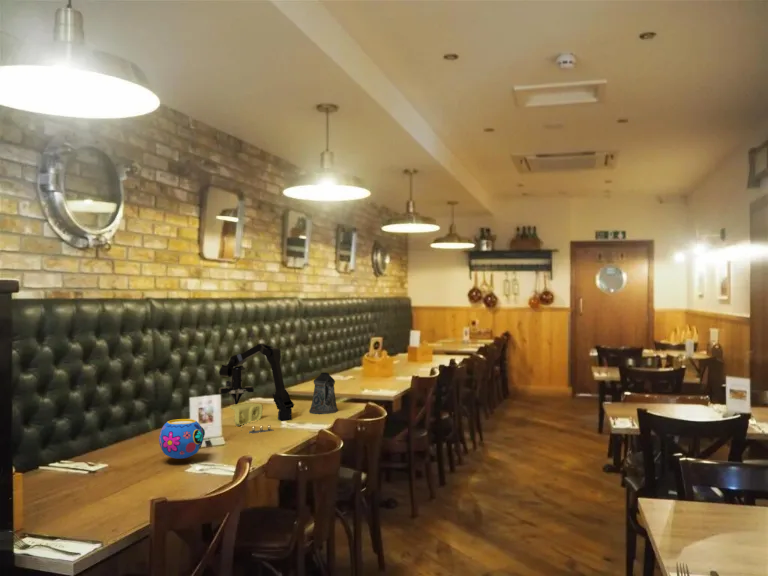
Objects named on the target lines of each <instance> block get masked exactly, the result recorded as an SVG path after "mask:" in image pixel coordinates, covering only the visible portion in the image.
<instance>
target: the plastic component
mask: <svg viewBox="0 0 768 576" xmlns="http://www.w3.org/2000/svg"><path fill="white" fill-rule="evenodd" d="M229 408H230V409H231V410H233V411H234V424H235V426H240V425H242V426H244V425H243V424H246V425H248V424H247V423H249V424H251V423H250V422H251V421H255V420H258V421H259V420H261V419H262V417H263V404H262V403H255V402H253V403H252V402H243V403H242V402H241V403H238V404H235V403H234V404H231V405H229Z"/></svg>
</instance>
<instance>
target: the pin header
mask: <svg viewBox="0 0 768 576" xmlns="http://www.w3.org/2000/svg"><path fill="white" fill-rule="evenodd" d="M248 431H249V433H248V434H250V433H252V434H258V433H259V432H260V433H265V432H273V431H274V429H271V424H268V425H267V429H264V426H263V425H259V430H256V426H255V425H252V426H251V430H248Z"/></svg>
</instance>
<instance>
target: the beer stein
mask: <svg viewBox="0 0 768 576" xmlns="http://www.w3.org/2000/svg"><path fill="white" fill-rule="evenodd" d="M335 383H336V381H335V379H334V378H333V377H332V376H331V375H330V373H329V372H320V374H319V375H318V376H317V377H316V378H314V380H313V384H314V389H313V395H312V402H311V405H310V408H309V411H308V412H309V413H310V414H313V415H329V414H335V413H338V411H339V408H338V406H337V405H338V404H337V401H336V394H335V393H336V392H335Z"/></svg>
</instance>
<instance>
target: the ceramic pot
mask: <svg viewBox="0 0 768 576" xmlns="http://www.w3.org/2000/svg"><path fill="white" fill-rule="evenodd" d="M205 435H206V432H205V428H203V426H201V424H200V423H199V422H198V421H197V420H195V419H192V418H191V419H190V418H179V419H171V420H168V421H166V423H164V425H162V428H161V430H160V432H159V436H158V444H159V446H160V449H161V450H162V453H163V454H164V455H166V456H167V457H168V458H172V459H180V460H181V459H187V458H190V457H192V456H194V455H195V454H197V453H198V452H199V451H200V450H201V447H202V446H203V442H204V439H205V438H204V437H205Z"/></svg>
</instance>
